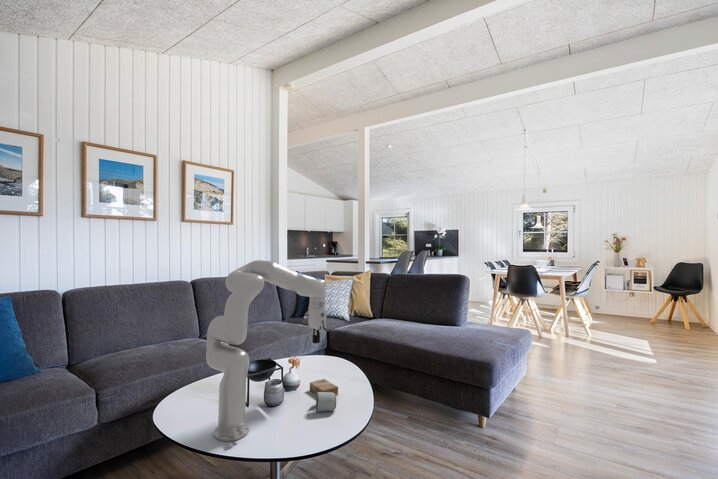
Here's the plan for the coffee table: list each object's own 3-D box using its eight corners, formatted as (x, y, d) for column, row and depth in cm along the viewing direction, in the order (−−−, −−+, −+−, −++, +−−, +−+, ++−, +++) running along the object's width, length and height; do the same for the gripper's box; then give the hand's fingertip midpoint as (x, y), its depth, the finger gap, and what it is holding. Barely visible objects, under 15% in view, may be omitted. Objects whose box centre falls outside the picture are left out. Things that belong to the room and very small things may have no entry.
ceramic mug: (336, 413, 156) (337, 395, 156) (317, 414, 154) (318, 396, 154) (332, 402, 166) (332, 385, 166) (314, 404, 164) (314, 386, 164)
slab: (323, 387, 181) (337, 395, 171) (309, 391, 176) (323, 400, 166) (323, 378, 181) (338, 387, 171) (309, 382, 176) (323, 391, 166)
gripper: (332, 306, 175) (331, 345, 175) (315, 301, 187) (314, 338, 187) (318, 308, 170) (317, 347, 170) (302, 303, 182) (301, 340, 182)
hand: (316, 342), depth 179 cm, fingers closed
